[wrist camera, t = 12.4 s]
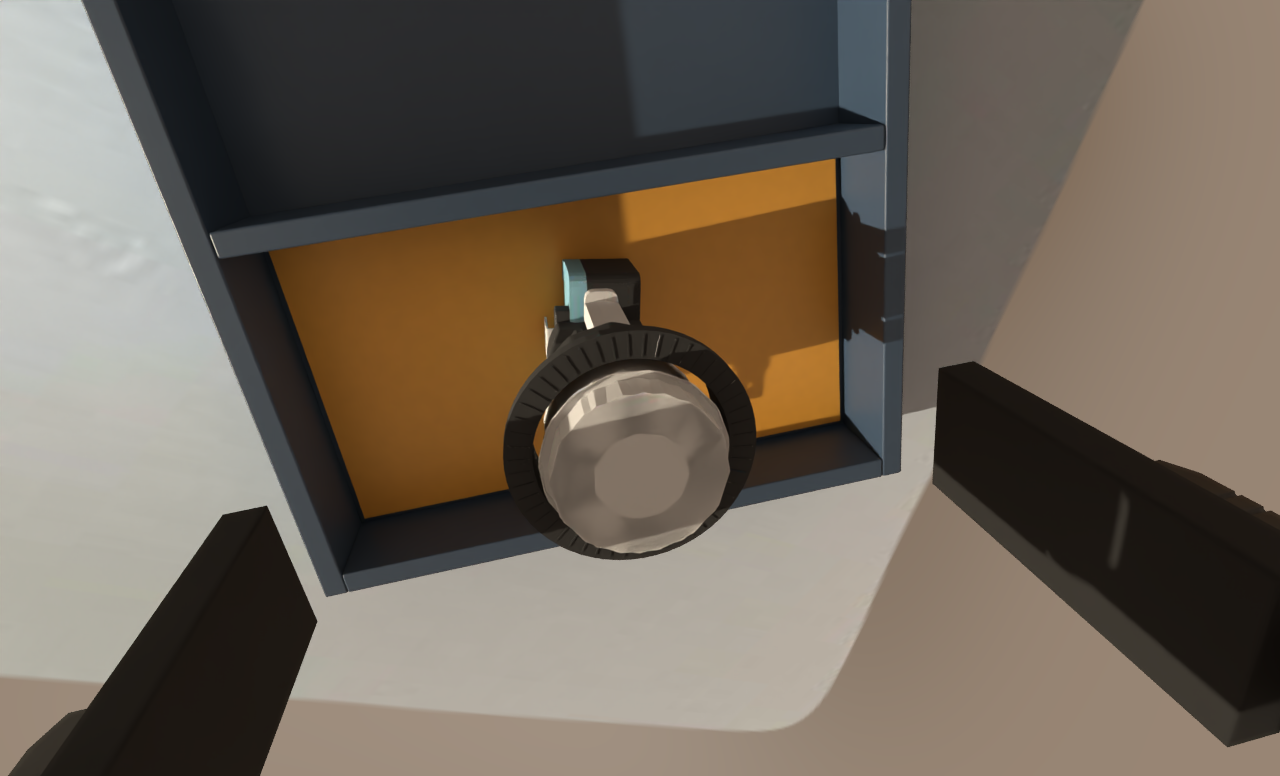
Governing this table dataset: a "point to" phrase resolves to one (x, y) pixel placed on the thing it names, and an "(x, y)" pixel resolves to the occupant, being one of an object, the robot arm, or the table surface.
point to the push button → (624, 426)
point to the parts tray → (523, 230)
